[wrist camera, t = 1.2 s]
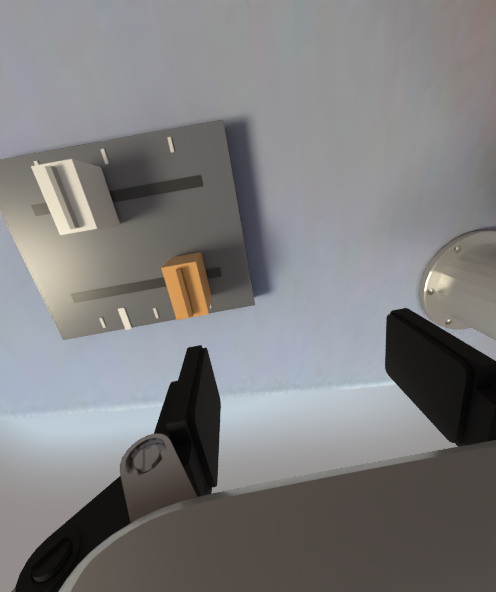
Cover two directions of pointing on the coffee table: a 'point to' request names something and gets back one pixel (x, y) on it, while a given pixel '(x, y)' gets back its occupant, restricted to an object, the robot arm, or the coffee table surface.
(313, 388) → the coffee table surface
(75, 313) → the console
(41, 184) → the fader white
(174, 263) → the fader orange
